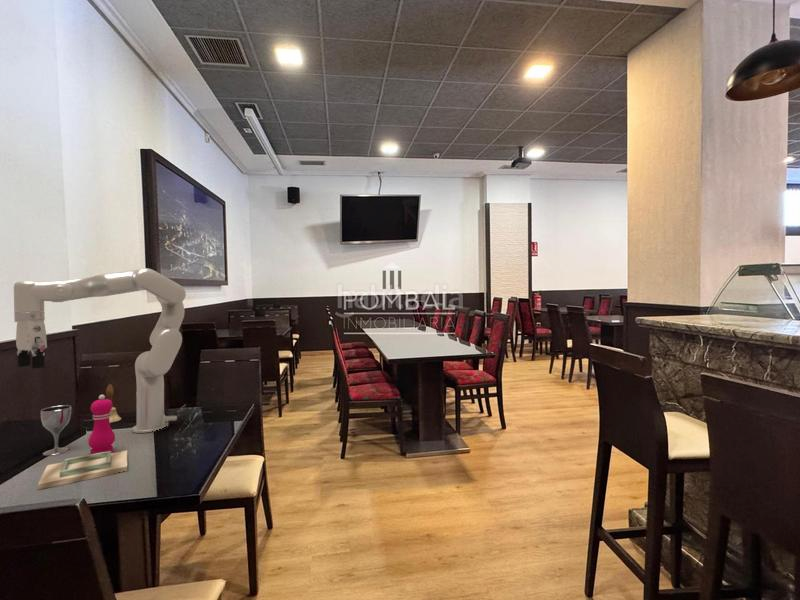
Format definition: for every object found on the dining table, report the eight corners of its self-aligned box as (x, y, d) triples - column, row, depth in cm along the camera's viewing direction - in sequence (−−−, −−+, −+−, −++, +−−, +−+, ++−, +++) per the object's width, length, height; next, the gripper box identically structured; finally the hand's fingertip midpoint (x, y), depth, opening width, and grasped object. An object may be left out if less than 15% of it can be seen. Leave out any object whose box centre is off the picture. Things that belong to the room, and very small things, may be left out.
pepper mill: (100, 458, 127) (100, 397, 128) (82, 456, 129) (82, 396, 129) (120, 450, 135) (120, 392, 135) (103, 448, 136) (103, 391, 136)
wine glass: (36, 457, 129) (36, 412, 129) (45, 449, 136) (45, 407, 136) (67, 453, 132) (67, 409, 132) (74, 445, 139) (74, 404, 140)
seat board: (127, 454, 130) (127, 445, 130) (127, 471, 117) (127, 461, 117) (47, 470, 118) (47, 460, 119) (37, 490, 105) (37, 479, 106)
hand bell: (96, 420, 170) (96, 384, 170) (119, 417, 176) (119, 381, 176) (98, 425, 164) (98, 387, 164) (122, 420, 170) (122, 384, 170)
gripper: (56, 316, 132) (57, 366, 132) (31, 316, 140) (32, 364, 140) (27, 317, 125) (29, 370, 125) (3, 318, 133) (4, 367, 133)
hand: (31, 367), depth 133 cm, fingers open, 9 cm apart
